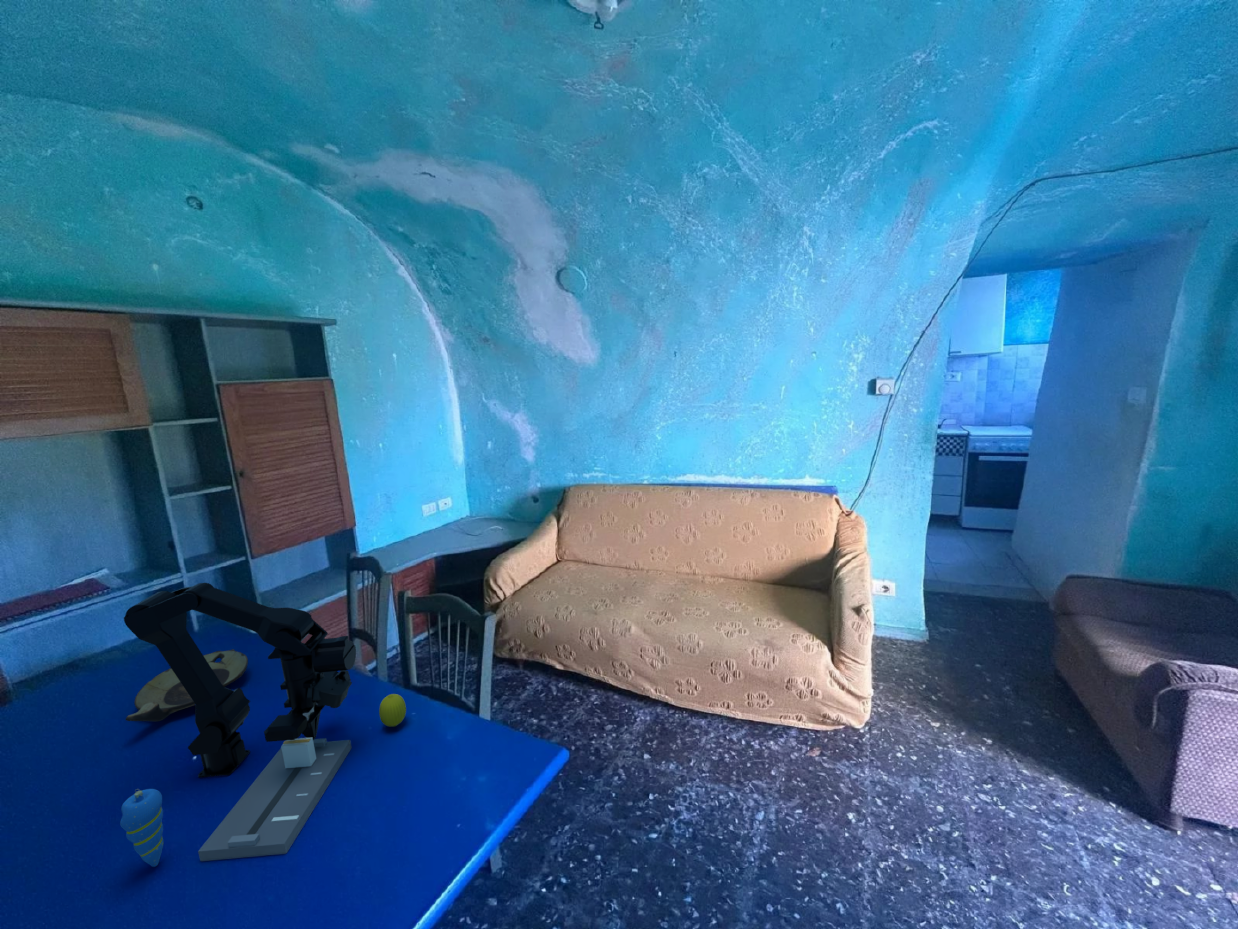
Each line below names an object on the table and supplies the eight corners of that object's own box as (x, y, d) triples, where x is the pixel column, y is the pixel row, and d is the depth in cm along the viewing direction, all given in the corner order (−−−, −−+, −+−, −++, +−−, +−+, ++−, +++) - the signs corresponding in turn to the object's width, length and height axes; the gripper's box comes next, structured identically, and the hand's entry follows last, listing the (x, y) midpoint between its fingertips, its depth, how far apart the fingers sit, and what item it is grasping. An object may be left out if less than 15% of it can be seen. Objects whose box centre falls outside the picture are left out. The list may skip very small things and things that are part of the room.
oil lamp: (274, 671, 139) (269, 646, 137) (148, 751, 110) (140, 721, 109) (214, 661, 145) (208, 637, 143) (80, 735, 116) (72, 706, 115)
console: (200, 861, 84) (196, 846, 84) (284, 753, 108) (282, 741, 107) (286, 853, 85) (283, 838, 84) (351, 748, 109) (349, 735, 108)
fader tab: (285, 768, 101) (280, 745, 100) (291, 760, 103) (286, 738, 102) (311, 766, 101) (306, 743, 100) (316, 758, 103) (312, 736, 102)
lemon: (398, 736, 112) (393, 704, 110) (376, 733, 113) (371, 701, 111) (413, 718, 117) (408, 688, 115) (392, 716, 118) (387, 686, 116)
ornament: (153, 852, 86) (132, 777, 83) (185, 849, 87) (165, 774, 84) (127, 882, 81) (104, 804, 78) (160, 879, 82) (139, 800, 79)
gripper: (316, 699, 95) (329, 770, 98) (360, 645, 113) (370, 706, 116) (255, 703, 94) (270, 775, 97) (309, 648, 112) (320, 710, 115)
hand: (312, 739), depth 106 cm, fingers closed
